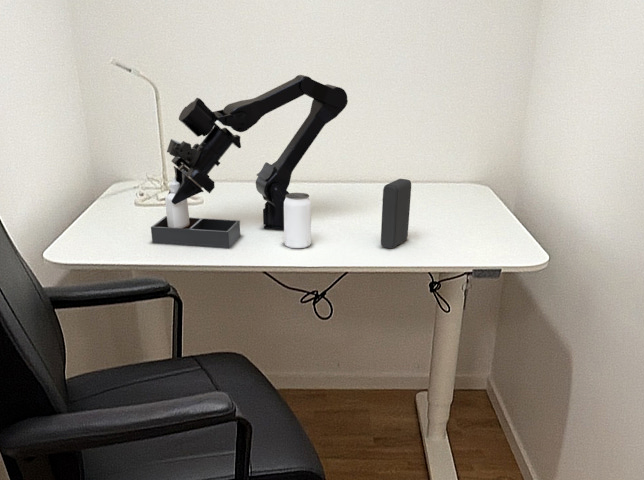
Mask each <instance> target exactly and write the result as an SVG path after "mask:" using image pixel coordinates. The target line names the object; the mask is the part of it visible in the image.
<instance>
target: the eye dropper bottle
mask: <svg viewBox="0 0 644 480" xmlns="http://www.w3.org/2000/svg"><path fill="white" fill-rule="evenodd" d="M179 187H180V183H179V182H177V181H176V177H175V176H173V177H172V180H171V181H170V182H169V191H170V192H171V193H170V194H168V193H167V195H166V196H165V199H164V202H165V203H164V204H165V212H166V216H167V223H168V228H185V227H187V226H189V224H190V222H189V217H190V213H189V212H190V211H189V201H188V198H187V199H185V200H183V201H181V202H179V203H177V204H173V203H172V199H173V197H174V195H175V194H176V192H177V190H178V189H179Z"/></svg>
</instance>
